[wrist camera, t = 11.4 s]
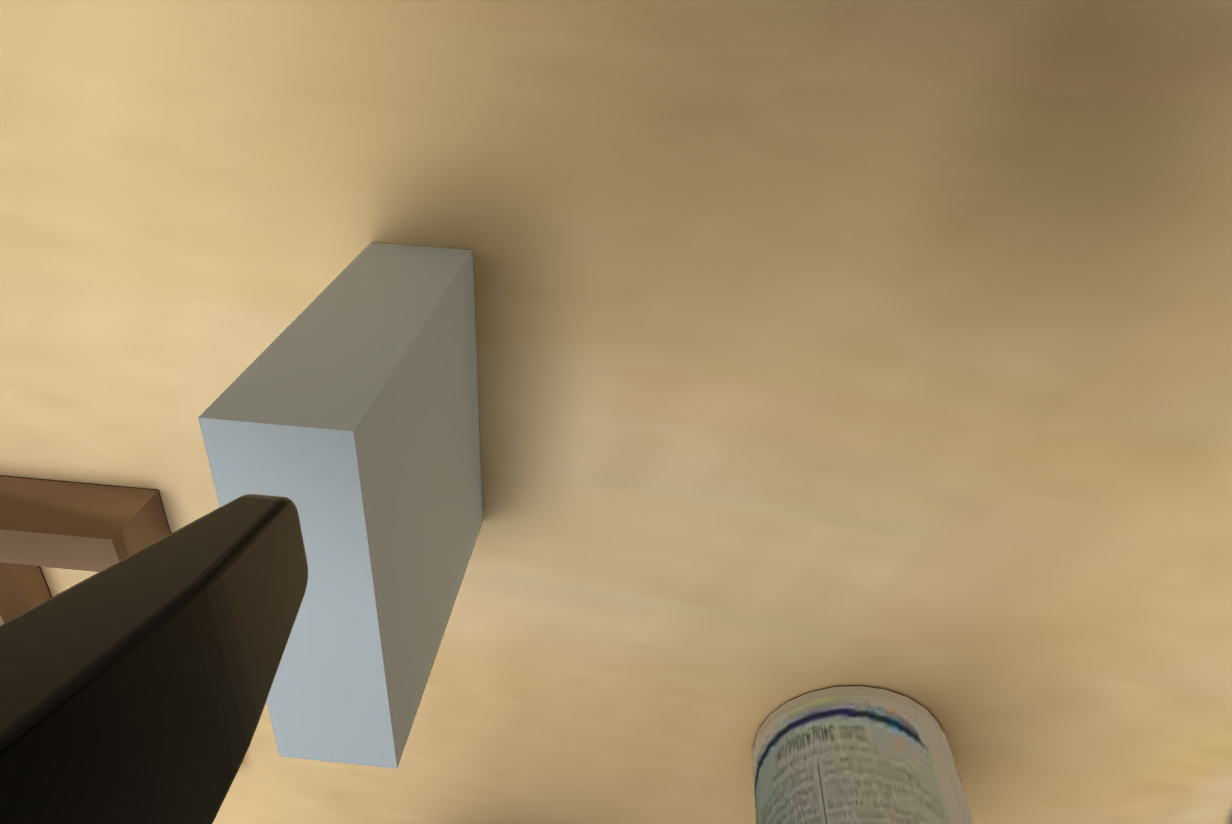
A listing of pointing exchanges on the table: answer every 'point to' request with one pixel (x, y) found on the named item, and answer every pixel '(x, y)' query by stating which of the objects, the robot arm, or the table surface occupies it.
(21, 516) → the rack
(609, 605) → the table surface
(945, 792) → the spray can
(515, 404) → the table surface
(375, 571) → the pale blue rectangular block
